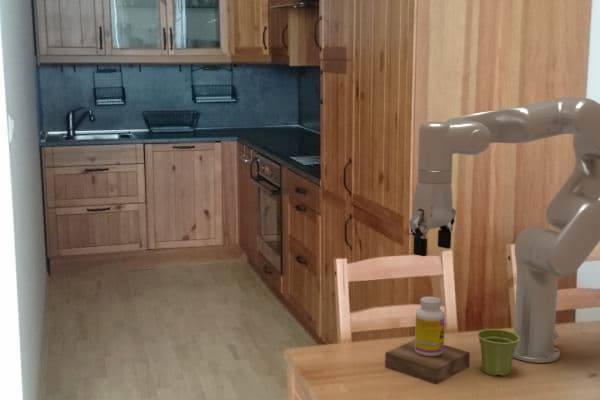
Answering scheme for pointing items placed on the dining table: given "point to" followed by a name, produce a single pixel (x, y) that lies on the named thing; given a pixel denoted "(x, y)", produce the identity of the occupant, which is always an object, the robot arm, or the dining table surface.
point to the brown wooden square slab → (427, 362)
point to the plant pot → (497, 350)
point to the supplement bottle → (429, 327)
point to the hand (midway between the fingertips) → (432, 251)
